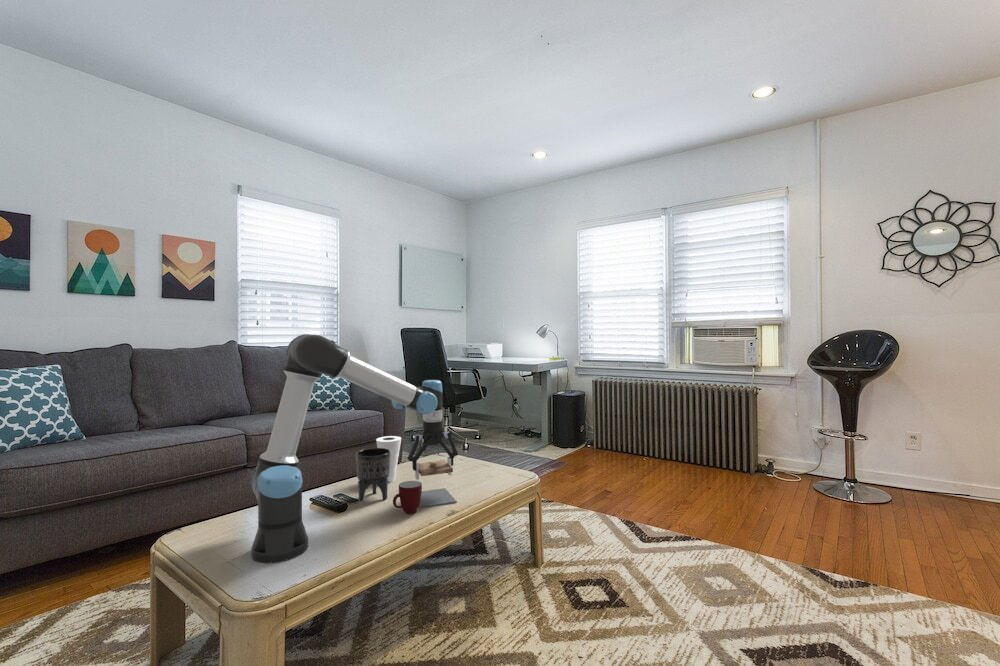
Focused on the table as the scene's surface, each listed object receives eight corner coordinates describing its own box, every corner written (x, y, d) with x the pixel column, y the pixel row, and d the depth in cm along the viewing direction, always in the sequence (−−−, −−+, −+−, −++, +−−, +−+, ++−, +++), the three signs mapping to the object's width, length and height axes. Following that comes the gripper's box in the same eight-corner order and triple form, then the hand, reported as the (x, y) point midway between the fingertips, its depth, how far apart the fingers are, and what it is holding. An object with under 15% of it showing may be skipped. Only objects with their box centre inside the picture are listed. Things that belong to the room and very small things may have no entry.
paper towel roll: (371, 481, 199) (370, 439, 199) (390, 475, 207) (389, 435, 207) (387, 486, 193) (387, 442, 193) (406, 479, 201) (406, 438, 201)
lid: (421, 476, 170) (421, 468, 170) (414, 467, 181) (414, 460, 181) (452, 472, 175) (452, 464, 175) (444, 463, 186) (444, 456, 186)
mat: (419, 508, 168) (419, 506, 168) (410, 494, 183) (410, 492, 183) (456, 502, 173) (456, 501, 173) (444, 489, 188) (444, 488, 188)
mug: (400, 520, 157) (400, 491, 157) (388, 514, 163) (388, 485, 163) (426, 512, 164) (426, 484, 164) (413, 506, 170) (413, 479, 170)
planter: (365, 506, 170) (364, 458, 170) (350, 497, 180) (350, 451, 180) (396, 498, 178) (396, 452, 178) (381, 489, 188) (380, 446, 188)
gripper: (403, 425, 170) (403, 483, 170) (465, 419, 179) (466, 475, 179) (399, 421, 177) (399, 477, 177) (459, 416, 186) (460, 469, 186)
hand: (433, 476), depth 178 cm, fingers closed on lid, 12 cm apart
